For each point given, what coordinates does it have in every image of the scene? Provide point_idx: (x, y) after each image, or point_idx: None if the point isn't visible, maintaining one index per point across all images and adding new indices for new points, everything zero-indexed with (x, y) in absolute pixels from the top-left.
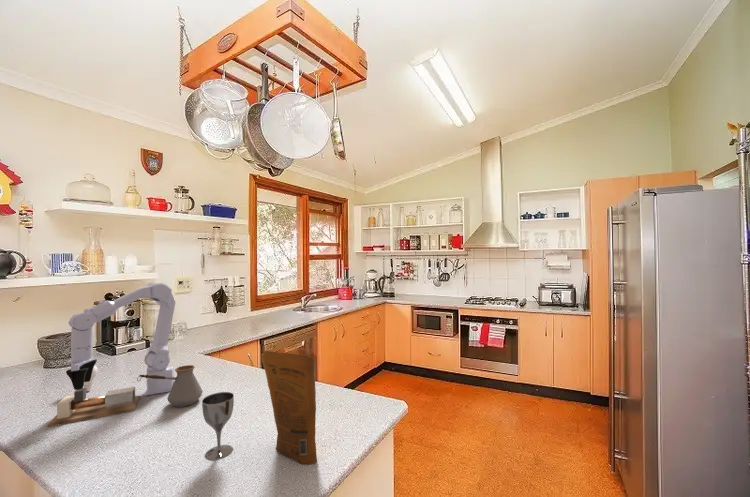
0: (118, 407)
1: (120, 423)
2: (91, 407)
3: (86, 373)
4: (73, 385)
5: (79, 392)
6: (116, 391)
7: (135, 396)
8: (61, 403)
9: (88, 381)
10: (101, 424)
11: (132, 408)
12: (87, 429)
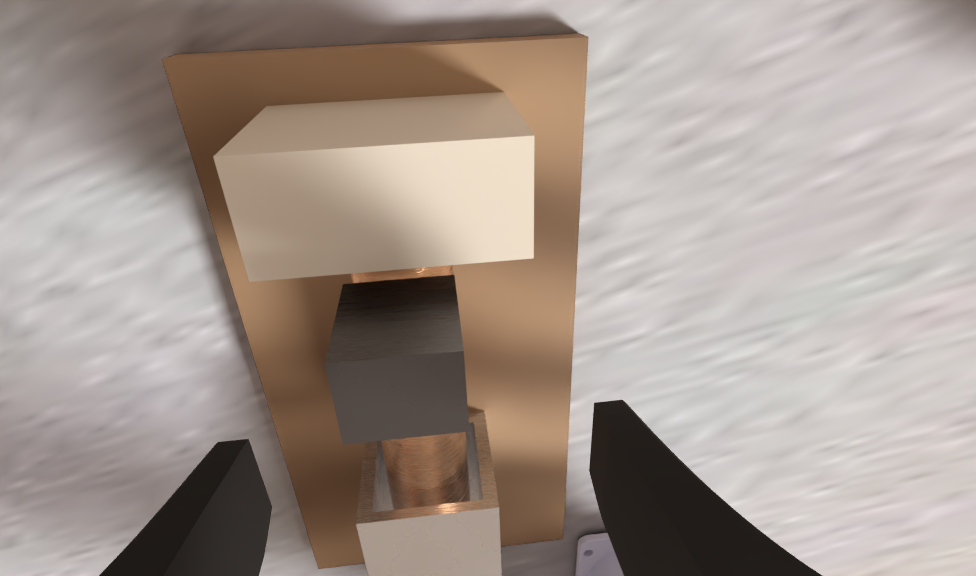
0: None
1: (114, 546)
2: (464, 311)
3: (647, 568)
4: (170, 505)
5: (339, 399)
6: (442, 564)
7: (555, 520)
8: (228, 205)
9: (592, 461)
10: (123, 456)
11: (318, 560)
12: (44, 405)
